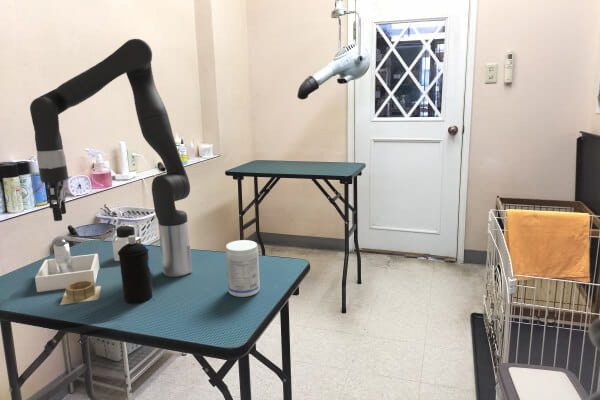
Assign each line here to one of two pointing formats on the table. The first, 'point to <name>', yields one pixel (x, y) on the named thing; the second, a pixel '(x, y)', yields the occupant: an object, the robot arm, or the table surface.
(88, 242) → the table surface
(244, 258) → the supplement tub
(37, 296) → the table surface
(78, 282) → the socket base
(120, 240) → the medicine bottle
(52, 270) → the bin
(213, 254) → the table surface
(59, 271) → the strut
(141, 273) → the aerosol can
